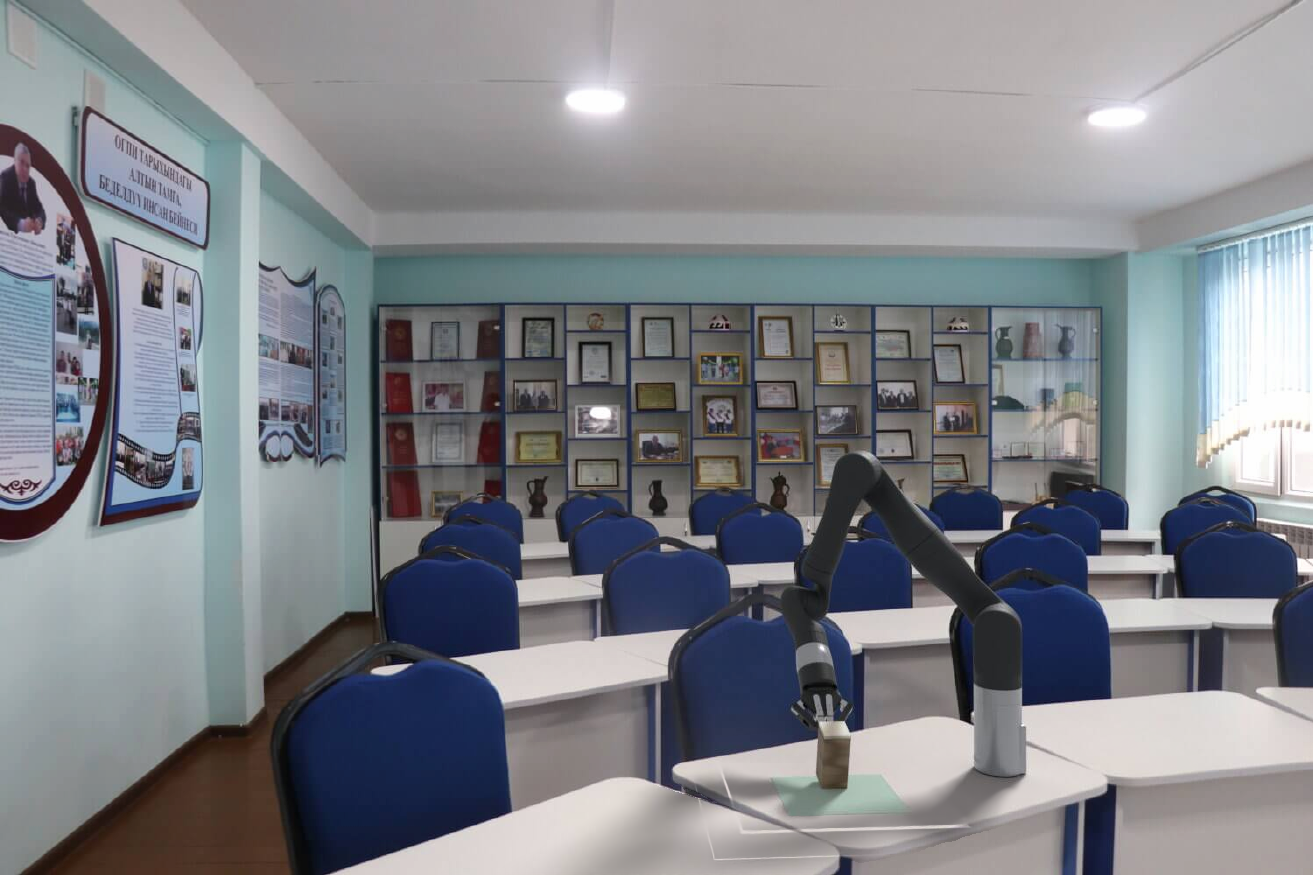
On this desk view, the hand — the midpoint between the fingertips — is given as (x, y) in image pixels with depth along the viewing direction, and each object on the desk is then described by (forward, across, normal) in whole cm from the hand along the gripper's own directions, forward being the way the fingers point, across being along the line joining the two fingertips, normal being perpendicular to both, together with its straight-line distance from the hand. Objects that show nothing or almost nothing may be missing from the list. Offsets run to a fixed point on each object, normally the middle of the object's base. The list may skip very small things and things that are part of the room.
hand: (829, 748), depth 188 cm
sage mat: (+9, 0, 0) cm, 9 cm away
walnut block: (+5, 0, +3) cm, 6 cm away
